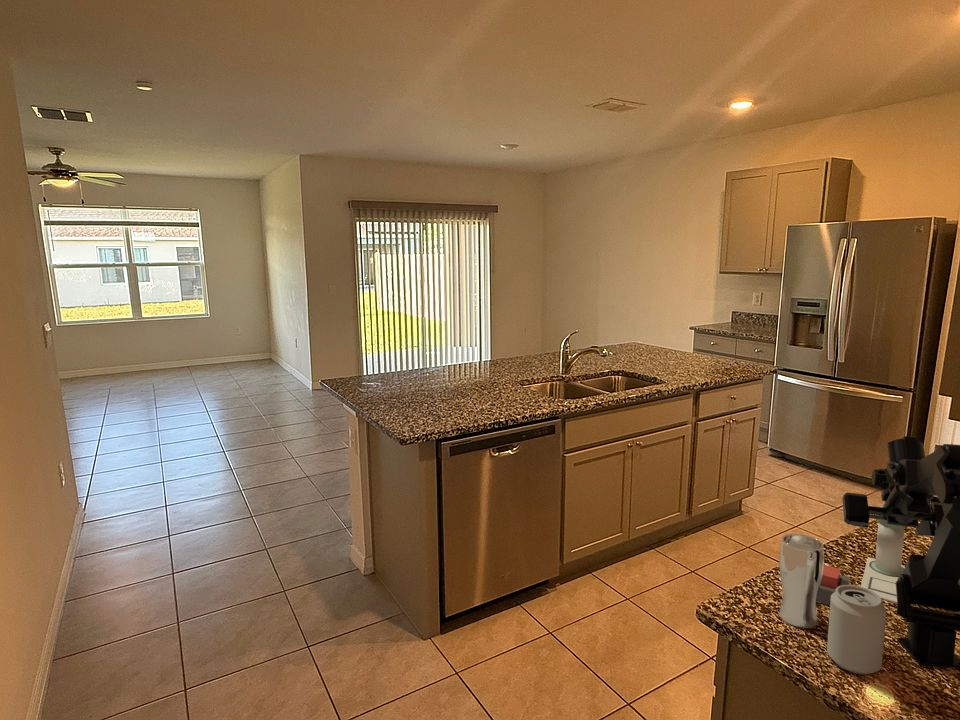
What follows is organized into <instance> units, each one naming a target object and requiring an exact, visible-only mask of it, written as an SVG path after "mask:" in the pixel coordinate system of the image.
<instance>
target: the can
mask: <svg viewBox="0 0 960 720" xmlns="http://www.w3.org/2000/svg"><path fill="white" fill-rule="evenodd" d="M828 617H829V618H828V630H827V643H826V645H827V647H826V653H827V654H828V656H829V657H830V658H831V659H832V660H833V661H834V663H835V664H837V666H839V667H840V668H842V669H843V670H846V671H848V672H850V673H854V674H858V675H870V674H873V673H877V672H879V671H880V670H881V669H882V666H883V655H884V642H885V631H886V621H887V608H886V607H885V606H884V604H883V599H881V598H880V597H879V596H878V595H877V594H876V593H874V592H873V591H871V590H869V589H866V588H863V587H861V585H860V586H859V585H854V584H850V585H842V586H839V587H837V588H836V592H834V593H833V594H832V595H831V600H830V606H829V616H828Z"/></svg>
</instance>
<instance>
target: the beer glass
mask: <svg viewBox="0 0 960 720" xmlns="http://www.w3.org/2000/svg"><path fill="white" fill-rule="evenodd" d="M779 550H780V552H779V561H778V563H779V565H778V566H779V575H780V583H781V589H782V600H781V604H780V609H779V612H778V613H779V617H780V618H781V619H782V620H783V621H784V622H785V623H787V624H788V625H791V626H793V627H797V628H802V629H810V628H811V629H812V628H814V627H816V625H817V624H818V615H817V604H816V603H817V602H816V599H817V595H818V592H819V589H820V585H821V582H822V577H823V569H824V565H825V555H824V554H825V553H824V543H823V542H822V541H821V540H819V539H818V538H815V537H814V536H811V535H806V534H802V533H787V534H784V535H783V536H781V545H780V549H779Z"/></svg>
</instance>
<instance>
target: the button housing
mask: <svg viewBox="0 0 960 720" xmlns="http://www.w3.org/2000/svg"><path fill="white" fill-rule="evenodd" d="M842 585H851V577H850V576H846V575H843V574H840V582H839V586H842ZM839 586H838V587H839ZM834 592H836V589H833V588H829V587H825V586H822V585H820V589H819V592H818V595H817V599H816V603H818V604H823V605H825V606H829V607H830V600H831V595H832V594H833V593H834Z"/></svg>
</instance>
